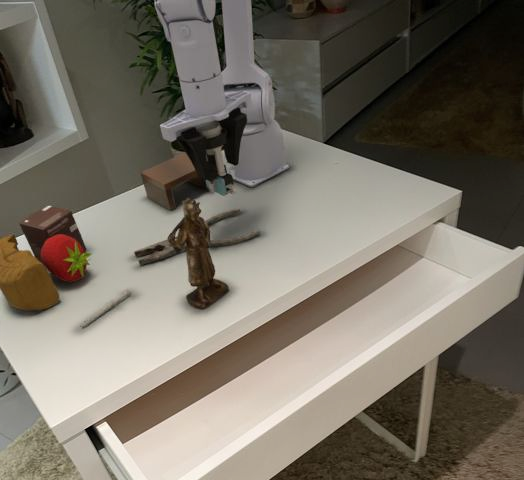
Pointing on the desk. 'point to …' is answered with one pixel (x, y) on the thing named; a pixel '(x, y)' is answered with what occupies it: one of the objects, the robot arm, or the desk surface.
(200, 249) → the figurine
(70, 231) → the box
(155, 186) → the brown wooden bridge block
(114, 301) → the wall anchor
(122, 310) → the desk surface
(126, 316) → the desk surface
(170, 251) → the pliers
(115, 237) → the desk surface
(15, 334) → the desk surface
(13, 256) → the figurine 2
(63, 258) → the strawberry
